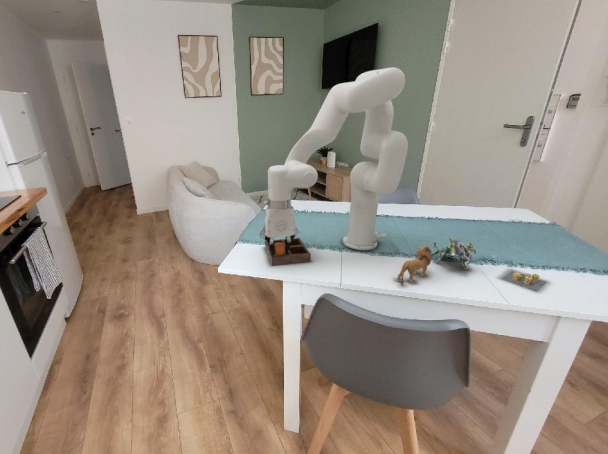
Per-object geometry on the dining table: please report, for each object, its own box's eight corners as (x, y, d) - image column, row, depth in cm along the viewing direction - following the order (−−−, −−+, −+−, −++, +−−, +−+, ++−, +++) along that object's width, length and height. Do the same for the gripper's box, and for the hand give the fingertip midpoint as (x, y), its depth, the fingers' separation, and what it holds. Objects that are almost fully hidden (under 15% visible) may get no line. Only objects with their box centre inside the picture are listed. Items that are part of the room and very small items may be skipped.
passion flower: (460, 282, 96) (479, 268, 86) (424, 271, 99) (438, 256, 89) (463, 253, 101) (482, 237, 90) (429, 243, 104) (443, 226, 94)
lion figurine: (414, 265, 97) (419, 241, 93) (431, 272, 93) (437, 246, 89) (392, 283, 88) (397, 257, 85) (411, 290, 84) (416, 263, 81)
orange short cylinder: (284, 249, 106) (284, 241, 104) (286, 254, 102) (287, 247, 100) (272, 250, 105) (272, 242, 104) (274, 256, 101) (274, 248, 100)
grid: (299, 244, 115) (299, 237, 114) (310, 261, 102) (310, 254, 101) (264, 248, 114) (264, 240, 112) (271, 265, 101) (271, 257, 100)
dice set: (538, 280, 86) (540, 275, 85) (531, 286, 83) (534, 281, 83) (516, 273, 90) (518, 268, 89) (510, 279, 87) (511, 273, 87)
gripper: (256, 208, 92) (257, 259, 99) (307, 204, 94) (305, 254, 101) (252, 201, 99) (254, 249, 106) (300, 198, 100) (299, 245, 108)
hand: (279, 251), depth 103 cm, fingers closed on orange short cylinder, 4 cm apart
